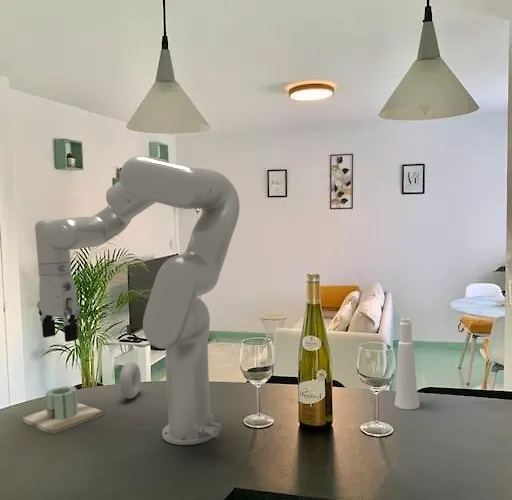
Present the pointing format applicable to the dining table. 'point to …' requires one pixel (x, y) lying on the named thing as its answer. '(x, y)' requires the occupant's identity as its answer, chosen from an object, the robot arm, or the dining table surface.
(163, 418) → the dining table surface
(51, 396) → the collar
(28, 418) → the post base
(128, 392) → the donut
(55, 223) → the robot arm
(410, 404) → the cosmetic bottle
